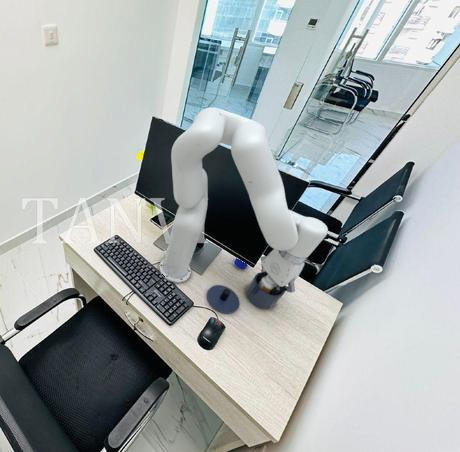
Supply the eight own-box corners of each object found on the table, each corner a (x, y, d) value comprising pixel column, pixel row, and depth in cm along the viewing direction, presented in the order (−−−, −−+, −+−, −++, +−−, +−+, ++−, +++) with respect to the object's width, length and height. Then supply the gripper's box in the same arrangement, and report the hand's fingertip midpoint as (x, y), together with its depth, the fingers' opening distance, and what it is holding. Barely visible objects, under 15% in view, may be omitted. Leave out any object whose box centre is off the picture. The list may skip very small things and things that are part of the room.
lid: (200, 290, 96) (204, 281, 92) (226, 283, 99) (231, 275, 95) (217, 318, 88) (222, 309, 84) (244, 309, 91) (250, 301, 87)
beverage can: (247, 271, 104) (262, 246, 94) (234, 268, 105) (248, 243, 95) (245, 261, 108) (259, 236, 98) (232, 259, 108) (246, 234, 98)
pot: (240, 288, 98) (248, 275, 92) (261, 282, 100) (271, 269, 94) (257, 312, 91) (268, 299, 85) (280, 305, 93) (291, 292, 87)
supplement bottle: (272, 298, 93) (285, 283, 86) (259, 300, 92) (271, 285, 85) (263, 286, 96) (275, 270, 90) (251, 288, 95) (262, 272, 89)
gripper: (264, 235, 83) (243, 269, 96) (305, 277, 72) (275, 309, 84) (282, 231, 85) (259, 265, 98) (325, 272, 74) (293, 304, 86)
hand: (267, 285), depth 91 cm, fingers closed on supplement bottle, 5 cm apart
